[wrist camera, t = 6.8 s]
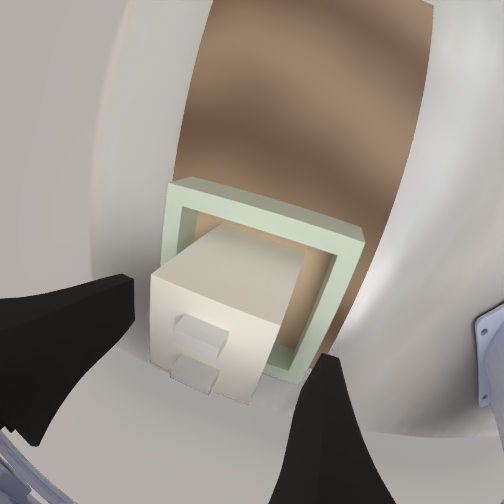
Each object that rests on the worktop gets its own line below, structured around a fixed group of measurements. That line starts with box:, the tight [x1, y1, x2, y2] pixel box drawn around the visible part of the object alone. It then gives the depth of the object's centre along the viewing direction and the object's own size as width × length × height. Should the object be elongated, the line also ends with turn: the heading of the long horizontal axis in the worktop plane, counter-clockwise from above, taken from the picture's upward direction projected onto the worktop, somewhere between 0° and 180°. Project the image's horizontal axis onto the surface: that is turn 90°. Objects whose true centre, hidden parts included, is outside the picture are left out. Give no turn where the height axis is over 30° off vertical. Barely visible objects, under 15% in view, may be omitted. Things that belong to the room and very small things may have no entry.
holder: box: [160, 177, 365, 385], centre depth 13 cm, size 8×8×2 cm
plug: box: [150, 223, 306, 405], centre depth 11 cm, size 4×4×6 cm
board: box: [172, 0, 434, 369], centre depth 12 cm, size 20×10×1 cm, turn 167°
